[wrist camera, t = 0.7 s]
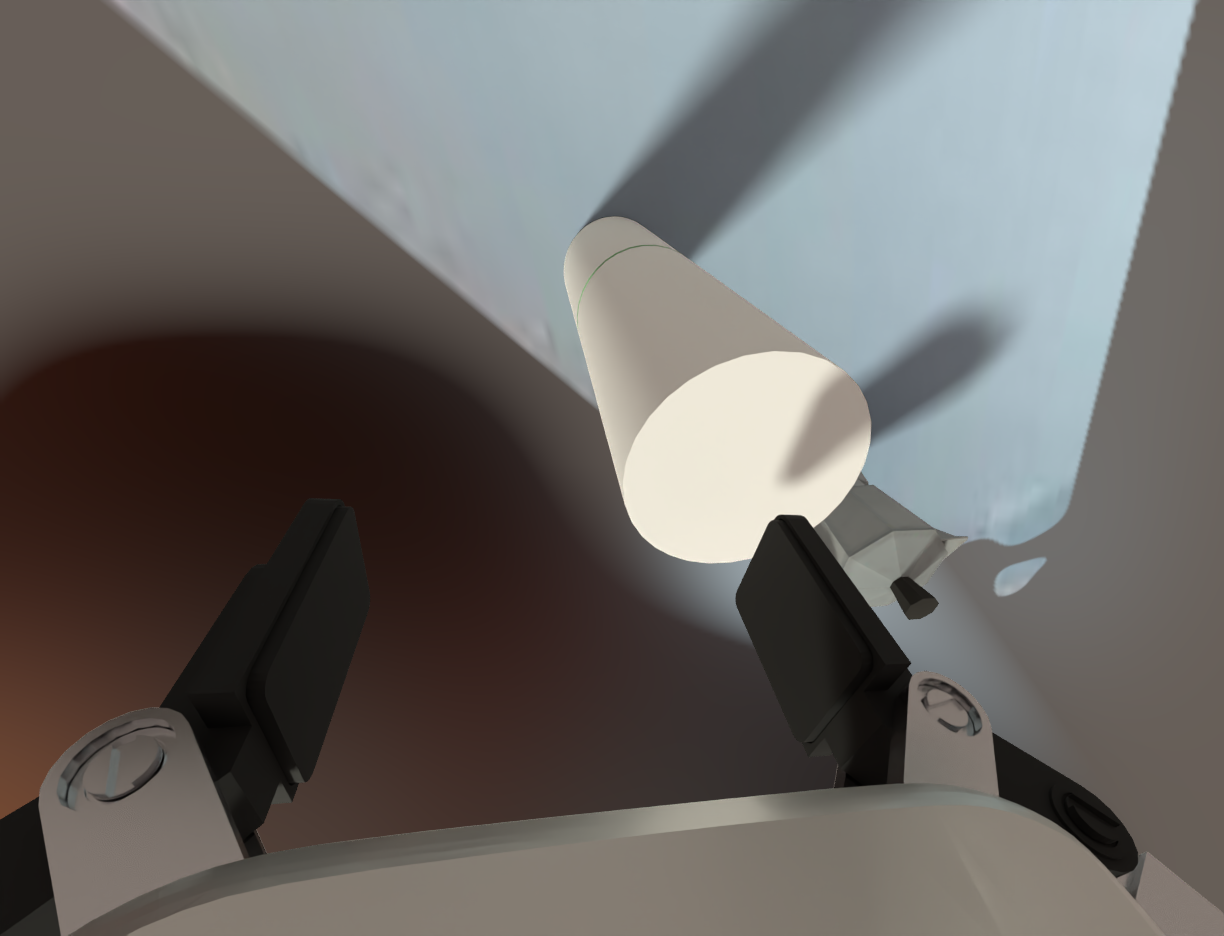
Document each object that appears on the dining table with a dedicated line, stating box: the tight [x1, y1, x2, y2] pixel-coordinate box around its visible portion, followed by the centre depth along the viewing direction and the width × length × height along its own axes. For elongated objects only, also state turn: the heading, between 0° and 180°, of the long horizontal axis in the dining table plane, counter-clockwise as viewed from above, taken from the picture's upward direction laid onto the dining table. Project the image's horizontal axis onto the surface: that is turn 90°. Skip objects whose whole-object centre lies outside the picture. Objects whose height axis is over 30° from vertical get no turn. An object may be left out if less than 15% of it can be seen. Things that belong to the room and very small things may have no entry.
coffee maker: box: [814, 472, 968, 620], centre depth 39 cm, size 15×9×18 cm, turn 108°
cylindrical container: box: [564, 216, 871, 563], centre depth 23 cm, size 7×7×25 cm
